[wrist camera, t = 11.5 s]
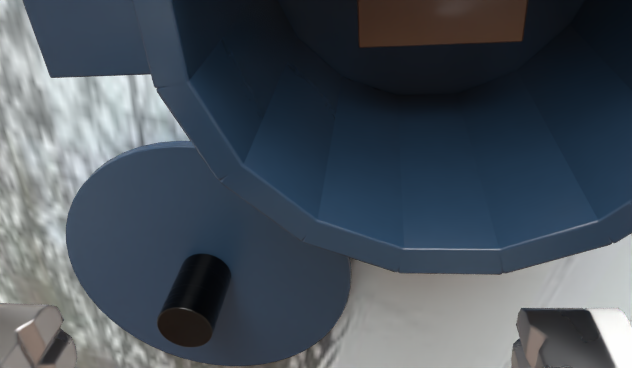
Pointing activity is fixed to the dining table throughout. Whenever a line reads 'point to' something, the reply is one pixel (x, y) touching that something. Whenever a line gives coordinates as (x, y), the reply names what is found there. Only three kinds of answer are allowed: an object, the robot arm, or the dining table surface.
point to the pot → (386, 122)
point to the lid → (198, 262)
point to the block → (439, 22)
